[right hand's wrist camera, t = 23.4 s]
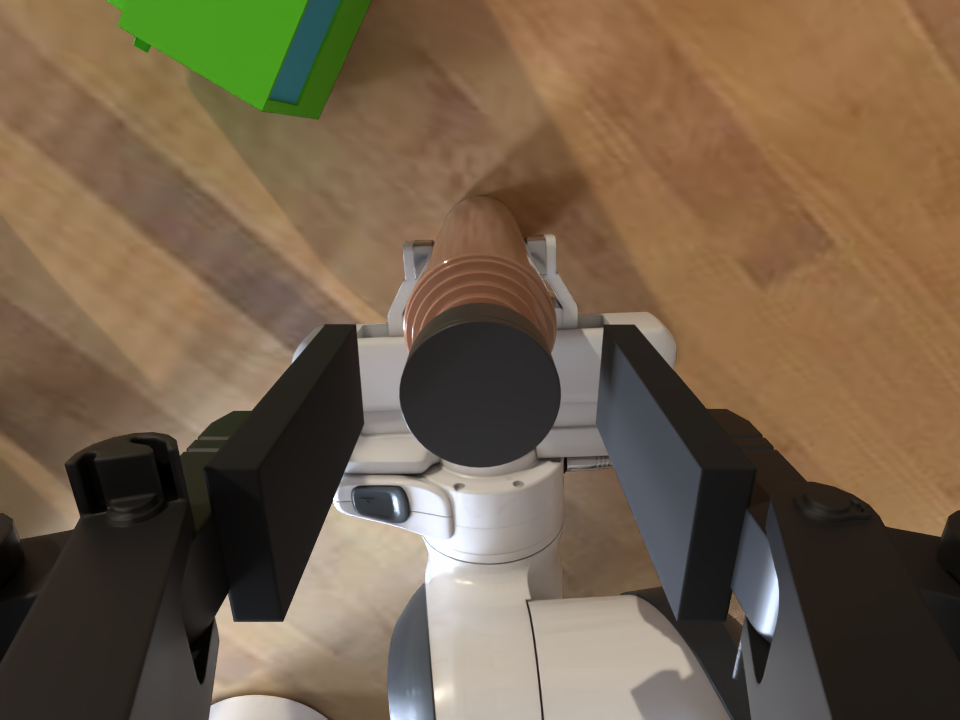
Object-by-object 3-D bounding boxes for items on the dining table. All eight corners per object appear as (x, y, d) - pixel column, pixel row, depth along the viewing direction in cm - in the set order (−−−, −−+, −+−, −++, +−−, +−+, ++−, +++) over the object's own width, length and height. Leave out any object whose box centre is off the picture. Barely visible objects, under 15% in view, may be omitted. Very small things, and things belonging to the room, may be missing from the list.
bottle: (533, 245, 36) (616, 405, 14) (470, 287, 37) (457, 500, 15) (489, 179, 34) (507, 244, 12) (426, 226, 35) (339, 361, 13)
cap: (573, 408, 15) (583, 437, 13) (442, 455, 15) (438, 488, 14) (522, 279, 13) (527, 295, 12) (382, 334, 14) (371, 356, 13)
